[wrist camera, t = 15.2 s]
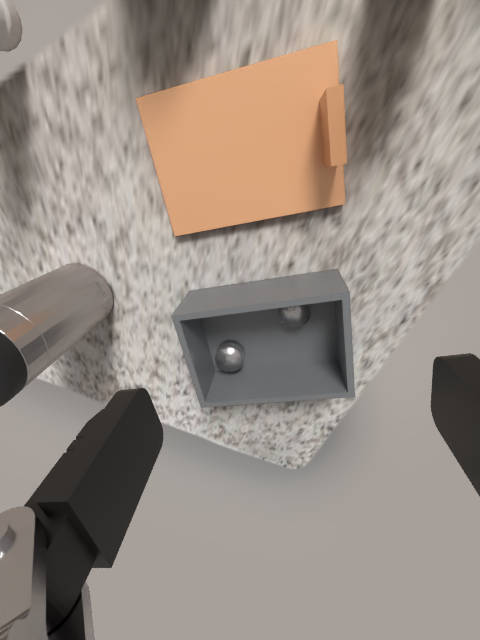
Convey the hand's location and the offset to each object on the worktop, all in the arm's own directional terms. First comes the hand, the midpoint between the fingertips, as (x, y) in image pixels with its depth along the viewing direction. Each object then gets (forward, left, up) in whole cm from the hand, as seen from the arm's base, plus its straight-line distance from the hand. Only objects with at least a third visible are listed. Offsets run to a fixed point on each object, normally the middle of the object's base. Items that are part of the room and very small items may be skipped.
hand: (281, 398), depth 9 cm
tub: (-4, -14, -32) cm, 35 cm away
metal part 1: (-10, -17, -31) cm, 37 cm away
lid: (-3, +8, -32) cm, 33 cm away
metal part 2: (0, -11, -32) cm, 33 cm away
